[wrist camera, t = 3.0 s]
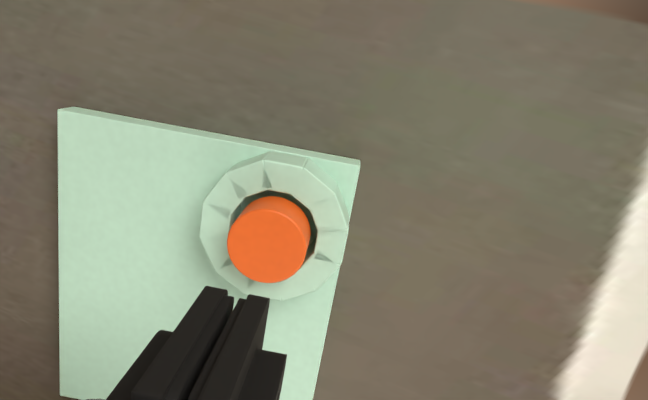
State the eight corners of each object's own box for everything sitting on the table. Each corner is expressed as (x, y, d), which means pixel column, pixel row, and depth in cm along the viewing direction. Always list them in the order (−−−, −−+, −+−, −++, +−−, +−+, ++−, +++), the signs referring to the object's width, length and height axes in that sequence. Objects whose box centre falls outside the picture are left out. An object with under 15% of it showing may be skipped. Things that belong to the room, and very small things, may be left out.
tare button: (242, 189, 18) (230, 202, 16) (316, 203, 18) (312, 218, 16) (234, 256, 19) (222, 276, 17) (304, 270, 19) (299, 290, 17)
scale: (74, 106, 20) (26, 113, 17) (360, 159, 20) (361, 176, 17) (73, 380, 25) (35, 422, 22) (306, 425, 24) (299, 474, 21)
